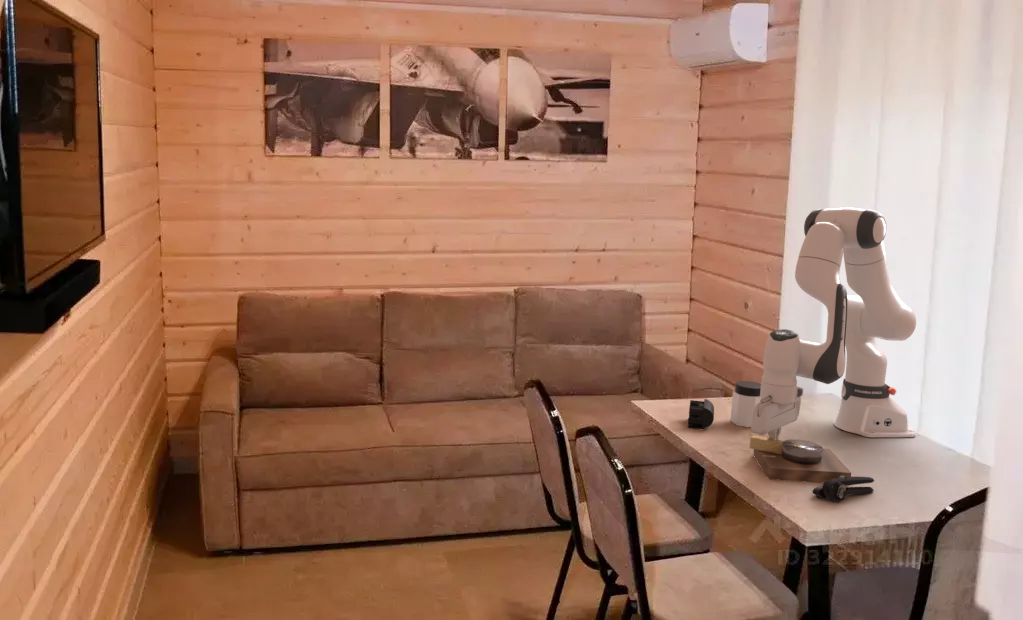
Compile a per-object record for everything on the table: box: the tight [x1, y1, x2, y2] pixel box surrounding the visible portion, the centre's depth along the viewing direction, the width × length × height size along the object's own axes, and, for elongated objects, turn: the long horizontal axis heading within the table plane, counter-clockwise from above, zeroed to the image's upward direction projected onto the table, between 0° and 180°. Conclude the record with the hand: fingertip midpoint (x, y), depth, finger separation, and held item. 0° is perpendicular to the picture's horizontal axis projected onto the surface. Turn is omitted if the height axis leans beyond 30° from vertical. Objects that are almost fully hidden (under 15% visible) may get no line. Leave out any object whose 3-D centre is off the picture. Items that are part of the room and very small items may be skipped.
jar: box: [729, 380, 761, 428], centre depth 280 cm, size 9×8×12 cm
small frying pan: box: [749, 434, 824, 464], centre depth 244 cm, size 18×10×3 cm, turn 61°
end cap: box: [687, 398, 715, 430], centre depth 276 cm, size 10×7×7 cm
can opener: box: [812, 475, 875, 503], centre depth 226 cm, size 18×7×6 cm, turn 118°
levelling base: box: [752, 448, 852, 484], centre depth 243 cm, size 20×18×3 cm
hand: (772, 443), depth 248 cm, fingers closed
